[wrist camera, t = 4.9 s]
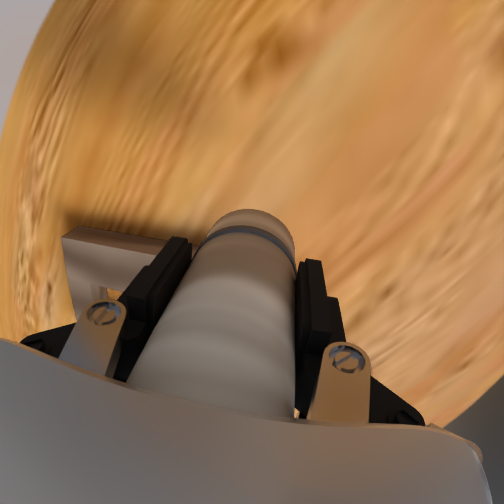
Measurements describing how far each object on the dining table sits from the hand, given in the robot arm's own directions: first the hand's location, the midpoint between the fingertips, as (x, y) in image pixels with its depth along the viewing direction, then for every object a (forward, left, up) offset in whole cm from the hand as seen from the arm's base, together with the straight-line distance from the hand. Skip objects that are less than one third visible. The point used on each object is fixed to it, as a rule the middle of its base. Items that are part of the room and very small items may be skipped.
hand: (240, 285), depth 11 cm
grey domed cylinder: (0, 0, -4) cm, 4 cm away
